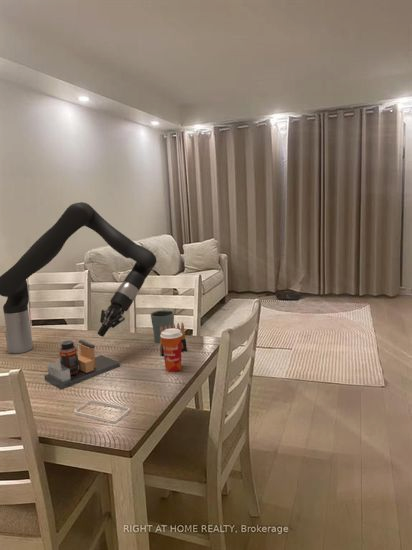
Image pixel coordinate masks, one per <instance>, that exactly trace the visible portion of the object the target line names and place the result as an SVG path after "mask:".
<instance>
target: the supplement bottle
mask: <svg viewBox="0 0 412 550" xmlns="http://www.w3.org/2000/svg"><path fill="white" fill-rule="evenodd" d="M60 346H61V348H60V349H59V351H58V352H59V353H58V354H59V360H60V361H59V362H60V364H61V365H63V366H65V367H67V368H69V369H70V375H74V374H76V373H78V372H79V361H78V354H79V353H78V347H77V346H75V345H74V341H73V340H69V339H68V340H64V341H62V342H61V343H60Z"/></svg>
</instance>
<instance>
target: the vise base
mask: <svg viewBox="0 0 412 550" xmlns="http://www.w3.org/2000/svg"><path fill="white" fill-rule="evenodd" d="M95 363H96V367H94V370H93V371H90V372H88V373H85V372H83V371H81V370H79V372H78V373H76V374H74V375H70V369H69V368H67V367H65V366H63V365H61V363H59V362H57V361H53V362H50V363H48V364H47V363H46V364H47V365H46V366H47V374H45V375H44V380H45V381H47V382H48V383H50V384H51V385H54V386H55V387H56V388H59V389H60V390H64V389H65V388H68V387H72V386H73V385H76V384H78V383H81V382H84V381H86V380H89V379H92V378H94V377H96V376H100V375H101V374H103V373H106V372H108V371H112V370H114V369H117V368H119V367H121V365H120V364H121V363H120V361H119V360H118V361H117V360H115V359H112V358H109V357H107V356H105V355H103V354H100V355H97V356H95Z"/></svg>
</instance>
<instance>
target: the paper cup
mask: <svg viewBox="0 0 412 550" xmlns="http://www.w3.org/2000/svg"><path fill="white" fill-rule="evenodd" d="M175 328H176V327H175ZM175 328H171V329H165V330H164V331H162V332H161V335H160V336H161V338H162V346H163V353H164V356H163V360H164V366H165V371H167V372H170V373H174V372H175V373H177V372H179V371H180V370H182V352H181V336H182V333H181V329H180V330H179V329H177V328H176V329H175Z"/></svg>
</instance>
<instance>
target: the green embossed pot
mask: <svg viewBox="0 0 412 550" xmlns="http://www.w3.org/2000/svg"><path fill="white" fill-rule="evenodd" d="M150 319H151V320H150V321H151V325H152V330H153V339H154V342H156V343H158V344H160V327H161V326H162V328H163V331H164V328H165V325H166V327H167V329H169V324H170V325H171V328H173V324H175V323H174V321H175V312H174V310H169V309H168V310H167V309H165V310H164V309H163V310H156V311H153V312H151V313H150Z"/></svg>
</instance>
